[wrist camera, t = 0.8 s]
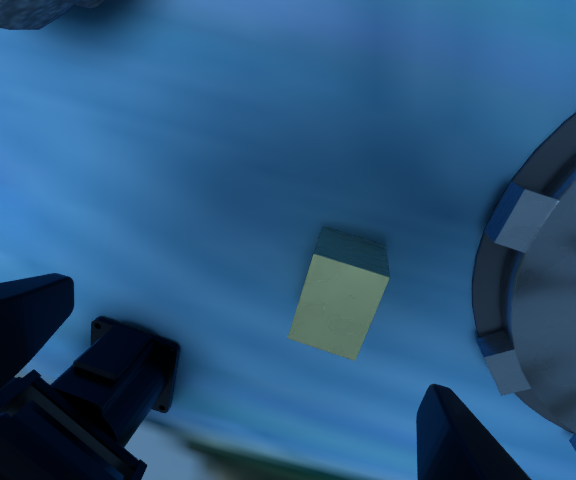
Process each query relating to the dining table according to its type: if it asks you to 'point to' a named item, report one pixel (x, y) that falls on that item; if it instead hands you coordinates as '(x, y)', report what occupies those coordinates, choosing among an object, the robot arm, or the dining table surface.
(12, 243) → the dining table surface
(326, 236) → the link block
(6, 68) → the dining table surface
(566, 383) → the sprocket
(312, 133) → the dining table surface
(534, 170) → the base mat
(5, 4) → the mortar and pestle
